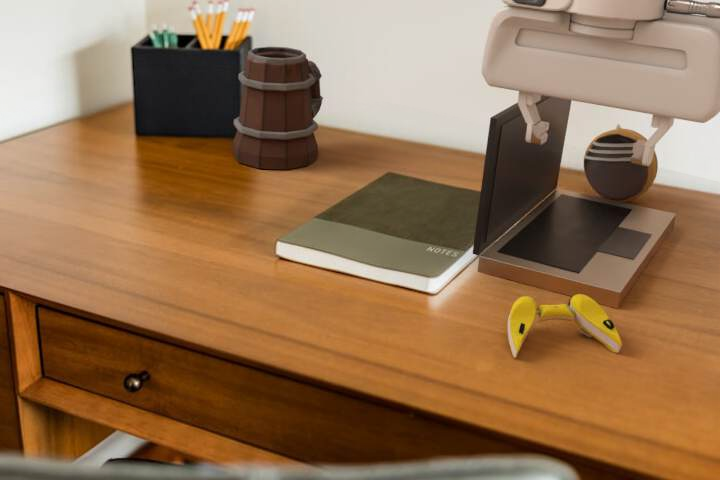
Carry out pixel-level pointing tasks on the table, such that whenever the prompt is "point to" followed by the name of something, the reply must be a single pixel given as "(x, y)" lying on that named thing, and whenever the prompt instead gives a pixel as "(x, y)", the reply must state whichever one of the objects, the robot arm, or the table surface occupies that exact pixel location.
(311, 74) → the mug
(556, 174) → the laptop screen
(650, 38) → the robot arm
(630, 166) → the striped round disc
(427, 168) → the table surface
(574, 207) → the laptop
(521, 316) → the game controller
